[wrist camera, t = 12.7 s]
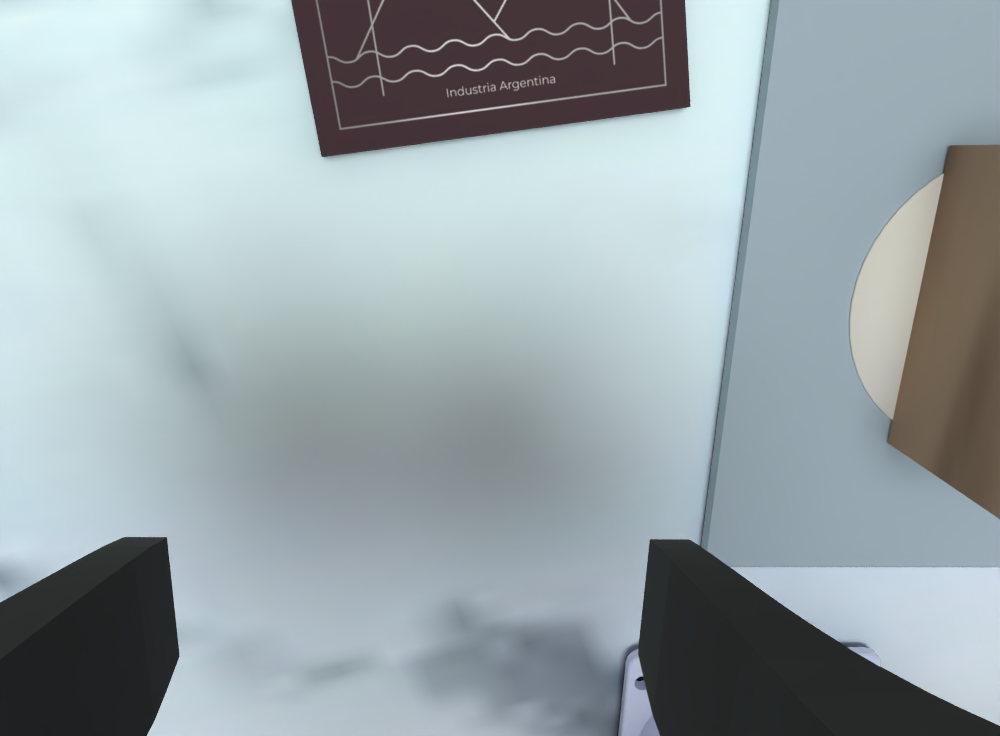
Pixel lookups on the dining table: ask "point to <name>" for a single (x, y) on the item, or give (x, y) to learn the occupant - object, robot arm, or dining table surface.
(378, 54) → the chocolate bar
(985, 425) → the walnut block
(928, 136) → the rubber mat
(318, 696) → the dining table surface
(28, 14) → the dining table surface
